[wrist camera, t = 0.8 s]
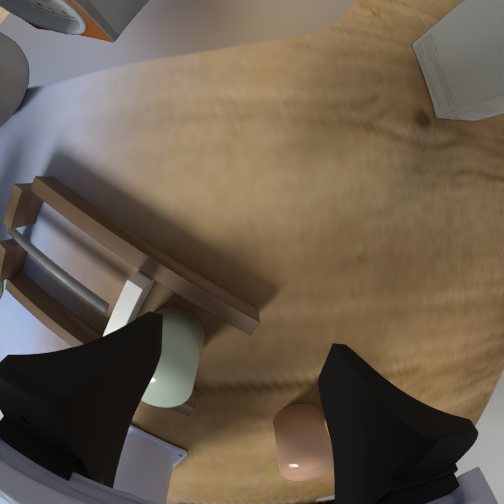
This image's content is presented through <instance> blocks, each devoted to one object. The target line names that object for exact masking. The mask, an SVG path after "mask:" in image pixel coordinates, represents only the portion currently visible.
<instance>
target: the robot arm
mask: <svg viewBox="0 0 504 504" xmlns="http://www.w3.org/2000/svg"><path fill="white" fill-rule="evenodd" d="M162 329H163V315H162V314H158V313H154V312H150V311H149V312H148V313H146V314H144V315H142V316H140V317H139V318H137V319H135V320H134V321H132V322H130V323H128V324H127V325H125V326H123V327H121V328H119V329H117V330H115V331H113V332H111V333H109V334H107V335H105V336H103V337H101V338H99V339H96V340H94V341H91V342H88V343H85V344H83V345H80V346H76V347H72V348H68V349H64V350H60V351H55V352H49V353H41V354H29V355H7V356H6V357H5V358H4V359H3V360H2V361H1V362H0V410H1V412H2V414H3V415H4V417H3V418H2V419H1V420H0V497H2V498H3V499H4V500H6V501H7V502H8V503H10V504H166V499H167V494H168V489H169V484H170V480H171V475H172V470H173V468H174V467H175V466H176V465H177V464H178V463H179V462H180V461H182V460H183V459H184V458H185V457H186V456H187V451H186V450H183V449H181V448H179V447H176V446H174V445H172V444H169V443H167V442H165V441H163V440H161V439H159V438H156V437H154V436H152V435H150V434H148V433H146V432H144V431H142V430H140V429H138V428H136V427H135V426H133V425H131V421H132V418H133V416H134V413H135V411H136V409H137V407H138V405H139V403H140V401H141V399H142V397H143V395H144V393H145V391H146V389H147V387H148V385H149V383H150V381H151V379H152V377H153V375H154V373H155V371H156V368H157V365H158V363H159V360H160V357H161V354H162ZM318 382H319V392H320V399H321V403H322V407H323V411H324V415H325V419H326V423H327V427H328V431H329V434H330V439H331V444H332V452H333V462H334V478H335V502H334V504H498V503H497V501H496V498H495V497H494V495H493V493H492V491H491V489H490V487H489V485H488V483H487V481H486V479H485V477H484V475H483V473H482V472H481V470H480V468H479V467H477V468H475V469H472V470H470V471H468V472H466V473H464V474H462V475H460V476H459V477H457V478H456V476H455V474H454V473H455V472H456V471H457V470H458V468H457V466H456V464H455V463H456V462H457V461H458V460H459V459H460V458H461V457H462V456H463V455H464V454H465V453H466V452H467V451H468V450H469V449H470V448H471V447H472V445H473V444H474V443H475V441H476V439H477V436H478V431H477V430H476V428H475V426H474V425H473V423H472V422H471V420H469V419H466V418H462V417H458V416H455V415H451V414H448V413H445V412H442V411H440V410H437V409H435V408H432V407H430V406H428V405H426V404H424V403H422V402H420V401H418V400H416V399H414V398H413V397H411V396H409V395H408V394H406V393H405V392H403V391H401V390H400V389H398V388H397V387H396V386H394V385H393V384H391V383H390V382H389V381H388V380H386V379H385V378H384V377H383V376H381V375H380V374H379V373H378V372H377V371H375V370H374V369H373V368H372V367H371V366H370V365H369V364H367V363H366V362H365V361H364V360H363V359H362V358H361V357H360V356H359V355H357V354H356V353H355V352H354V351H353V350H352V349H351V348H349V347H348V346H347V345H344V344H334V343H333V344H332V347H331V349H330V352H329V354H328V357H327V359H326V361H325V364H324V366H323V369H322V371H321V373H320V376H319V378H318Z"/></svg>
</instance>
